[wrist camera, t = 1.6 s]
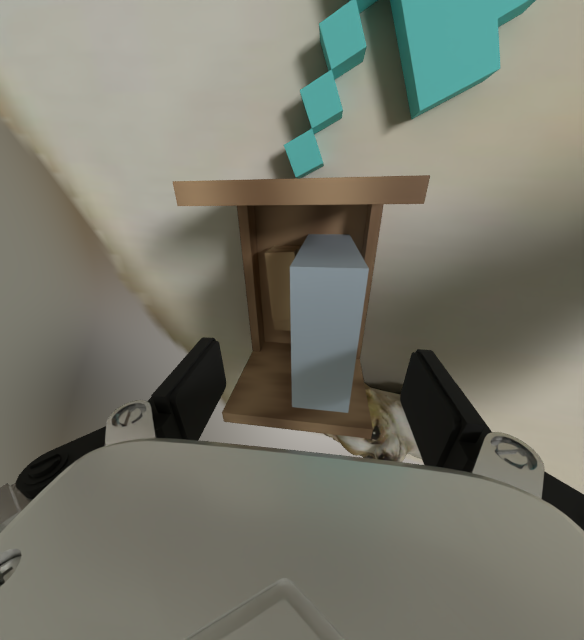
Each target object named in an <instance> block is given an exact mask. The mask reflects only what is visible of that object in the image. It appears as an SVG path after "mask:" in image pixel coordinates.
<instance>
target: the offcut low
mask: <svg viewBox="0 0 584 640" xmlns="http://www.w3.org/2000/svg"><path fill="white" fill-rule="evenodd" d="M292 248H297V253H298V252H299V250H300V248H301V246H275V245H274V246H273V247H272V248H271V249H292ZM274 322H275V330H285V331H291V320H274Z"/></svg>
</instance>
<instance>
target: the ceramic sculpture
mask: <svg viewBox="0 0 584 640" xmlns="http://www.w3.org/2000/svg"><path fill="white" fill-rule="evenodd" d="M364 385H365V390H366V395H367V401H368V406H369V411H370V417H371V422H372V427H373V432H372V436H371V439H367V438H358V437H350V436H341V435H333V434H325V435H326V436H329V437H332V438H333V439H334V440H336V441H337V442H340V443H341V444H342V446H343V447H344V448H345V449H346V450H347V451H348V452H350V453H351V454H353V455H360V456H362V457H363V458H368V459H377V460H386V461H395V462H402V461H403V460H404V459H405V456H406V455H407V454H410V455H412V456H415V457H417V458H420V459H422V457H421V455H420V452H419V449H418V447H417V444H416V442H415V439H414V436H413V434H412V431H411V428H410V426H409V423H408V421H407V418H406V415H405V413H404V410H403V408H402V405H401V402H400V394H395V393H392V392H386V391H382V390H379V389H375V388H370V387H369V386H368V385H366V384H365V383H364ZM323 434H324V433H323Z"/></svg>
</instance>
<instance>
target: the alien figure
mask: <svg viewBox="0 0 584 640" xmlns="http://www.w3.org/2000/svg"><path fill="white" fill-rule="evenodd" d="M376 1H378V0H349V2H348V3H347V4H345V5H344V6H343V7H341V8H340V9H338V10H337V11H336V12H334V13H333V14H332V15H330V16H329V17H328V18H326V19H325V20H323V21H322V22H321V23H319V30H320V43H321V46H322V50H323V53H324V57H325V61H326V64H327V68H328V72H327V73H325V74H324V75H322V76H321V77H319V78H318V79H316V80H315V81H313V82H312V83H310V84H309V85H307V86H306V87H304V88H303V89H301V90H300V93H301V97H302V100H303V103H304V107H305V110H306V113H307V116H308V119H309V122H310V125H311V128H312V129H310V130H309V131H307V132H305V133H304V134H302V135H300V136H298V137H297V138H295V139H293V140H292V141H290V142H288V143H287V144H285V145H284V147H285V150H286V152H287V155H288V158H289V160H290V163H291V166H292V169H293V171H294V174H295V177H296V178H297V179H300V178H302V177H304V176H306V175H308V174H309V173H311V172H313V171H315V170H317V169H319V168H321V167H323V166H324V164H323V161H322V158H321V154H320V151H319V148H318V145H317V142H316V139H315V136H314V134H315V133H317V132H319V131H321V130H322V129H324V128H326V127H328V126H329V125H331V124H333V123H334V122H336V121H338V120H340V119H341V118H342V112H343V109H342V106H341V102H340V98H339V95H338V91H337V87H336V84H335V79H336V78H338V77H340V76H341V75H343V74H344V73H346V72H347V71H349V70H351V69H352V68H354V67H355V66H357V65H358V64H360V63H361V62H363V59H364V55H365V51H366V47H367V46H366V42H365V37H364V33H363V28H362V24H361V19H360V15H359V13H361V12H362V11H364V10H365V9H367V8H368V7H369V6H371V5H372V4H374V3H375V2H376ZM535 1H536V0H390V4H391V9H392V15H393V20H394V26H395V31H396V37H397V42H398V48H399V53H400V59H401V64H402V70H403V75H404V81H405V86H406V92H407V97H408V103H409V108H410V114H411V119H413V118H415V117H417V116H419V115H421V114H423V113H424V112H426V111H428V110H430V109H432V108H434V107H436V106H438V105H440V104H441V103H443V102H445V101H447V100H449V99H451V98H453V97H455V96H456V95H458V94H460V93H462V92H464V91H466V90H468V89H470V88H472V87H473V86H475V85H477V84H479V83H481V82H483V81H484V80H485V79H487V78H488V77H489V76H491V75H492V74H493V73H495V72H496V71H497V70H499V69H500V53H499V35H498V27H499V26H501V25H503V24H505V23H506V22H508V21H510V20H511V19H513V18H515V17H517V16H518V15H520V14H522V13H523V12H524V11H525V10H526V9H527V8H528V7H529V6H530V5H531V4H532V3H533V2H535Z"/></svg>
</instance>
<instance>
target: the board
mask: <svg viewBox="0 0 584 640" xmlns="http://www.w3.org/2000/svg"><path fill="white" fill-rule="evenodd" d="M368 272H369V268H368V266H367V264H366V263H365V261H364V259H363V257H362V255H361V254H360V252H359V250H358V248H357V247H356V245H355V243H354V241H353V240H352V238H351V236H350V234H308V236H307V238H306V239H305V241H304V243H303V245H302V246H301V248H300V250H299V252H298V253H297V255H296V257H295V258H294V260H293V262H292V264H291V265H290V312H291V376H292V407H297V408H306V409H316V410H325V411H335V412H344V413H348V411H349V404H350V397H351V390H352V383H353V376H354V369H355V362H356V355H357V348H358V341H359V334H360V327H361V320H362V313H363V306H364V299H365V293H366V286H367V279H368Z"/></svg>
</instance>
